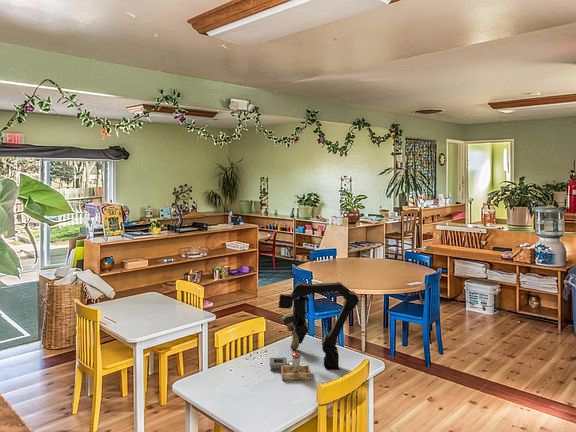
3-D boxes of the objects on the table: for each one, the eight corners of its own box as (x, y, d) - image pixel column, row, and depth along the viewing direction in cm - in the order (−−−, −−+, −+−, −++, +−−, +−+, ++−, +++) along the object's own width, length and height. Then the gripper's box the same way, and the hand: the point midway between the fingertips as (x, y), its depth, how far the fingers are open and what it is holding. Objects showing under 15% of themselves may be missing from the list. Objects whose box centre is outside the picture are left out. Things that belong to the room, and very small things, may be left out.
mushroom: (296, 354, 231) (296, 326, 229) (282, 350, 236) (283, 323, 234) (306, 349, 238) (307, 322, 237) (293, 345, 243) (294, 318, 242)
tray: (308, 371, 211) (308, 365, 211) (311, 380, 202) (311, 373, 202) (280, 371, 210) (281, 365, 210) (282, 380, 201) (282, 374, 201)
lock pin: (299, 372, 208) (300, 352, 207) (300, 376, 204) (300, 355, 203) (291, 372, 208) (291, 352, 207) (291, 376, 204) (292, 355, 203)
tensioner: (298, 363, 220) (298, 357, 220) (300, 370, 212) (300, 364, 212) (269, 363, 219) (269, 357, 219) (270, 370, 211) (270, 364, 211)
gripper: (282, 303, 223) (281, 333, 225) (284, 314, 205) (284, 347, 206) (304, 303, 224) (303, 333, 225) (308, 314, 206) (307, 347, 207)
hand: (299, 340), depth 216 cm, fingers open, 9 cm apart
